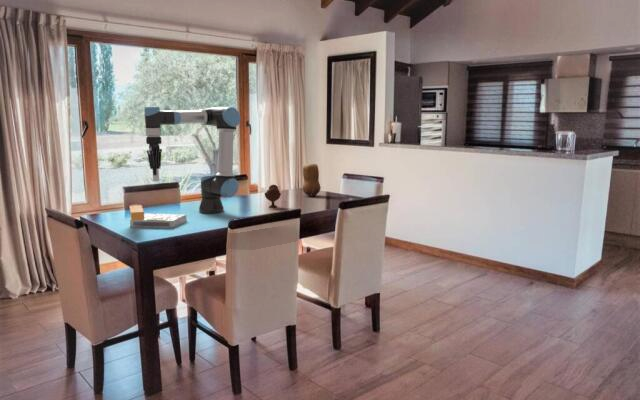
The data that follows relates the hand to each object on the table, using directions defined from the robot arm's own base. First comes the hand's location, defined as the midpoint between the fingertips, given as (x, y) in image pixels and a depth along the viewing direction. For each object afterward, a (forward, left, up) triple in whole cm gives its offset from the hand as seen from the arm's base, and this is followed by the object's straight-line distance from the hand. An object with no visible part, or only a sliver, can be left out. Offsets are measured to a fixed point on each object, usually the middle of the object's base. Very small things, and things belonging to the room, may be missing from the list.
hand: (156, 181), depth 257 cm
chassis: (-5, -2, -25) cm, 25 cm away
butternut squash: (-118, +66, -25) cm, 138 cm away
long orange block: (+9, -7, -17) cm, 21 cm away
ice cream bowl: (-66, +48, -25) cm, 85 cm away
